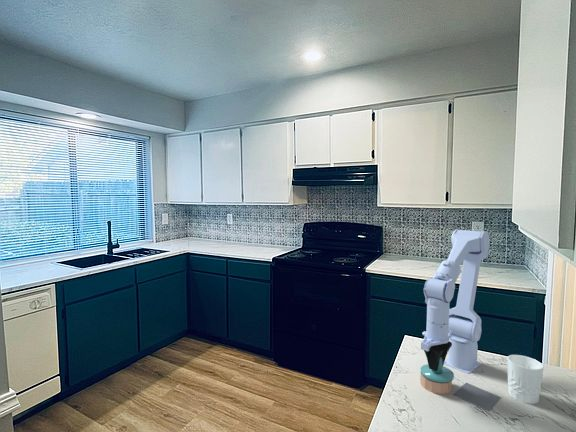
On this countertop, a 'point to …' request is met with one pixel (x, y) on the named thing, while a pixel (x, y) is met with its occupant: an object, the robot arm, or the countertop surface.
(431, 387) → the bowl
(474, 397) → the mat
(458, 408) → the countertop surface
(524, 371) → the white cup
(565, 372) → the countertop surface
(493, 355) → the countertop surface
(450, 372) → the lid
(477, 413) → the countertop surface
